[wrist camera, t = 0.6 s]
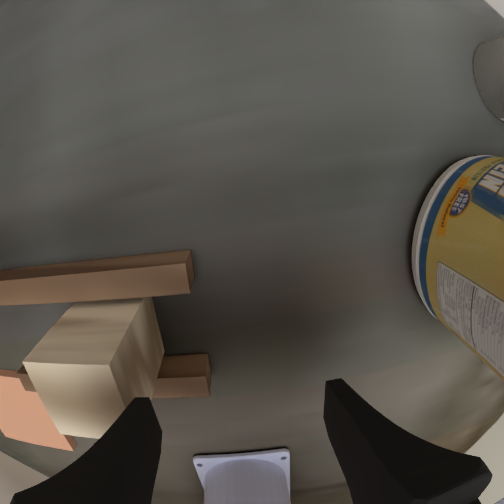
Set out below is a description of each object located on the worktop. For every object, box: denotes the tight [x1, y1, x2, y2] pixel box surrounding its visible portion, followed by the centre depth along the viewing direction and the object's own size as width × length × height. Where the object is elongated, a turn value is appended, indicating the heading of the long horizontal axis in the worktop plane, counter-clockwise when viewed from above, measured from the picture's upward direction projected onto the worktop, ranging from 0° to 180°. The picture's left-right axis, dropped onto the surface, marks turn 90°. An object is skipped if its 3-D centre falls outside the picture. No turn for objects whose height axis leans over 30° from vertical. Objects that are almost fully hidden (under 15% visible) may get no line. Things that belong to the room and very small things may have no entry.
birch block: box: [22, 297, 165, 439], centre depth 15 cm, size 4×4×8 cm
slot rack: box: [0, 250, 211, 398], centre depth 18 cm, size 8×14×2 cm, turn 95°
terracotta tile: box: [0, 369, 77, 451], centre depth 20 cm, size 8×9×1 cm
